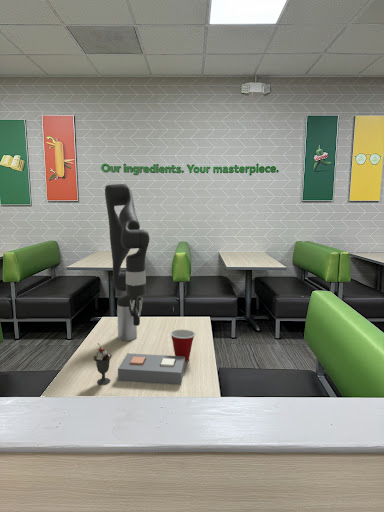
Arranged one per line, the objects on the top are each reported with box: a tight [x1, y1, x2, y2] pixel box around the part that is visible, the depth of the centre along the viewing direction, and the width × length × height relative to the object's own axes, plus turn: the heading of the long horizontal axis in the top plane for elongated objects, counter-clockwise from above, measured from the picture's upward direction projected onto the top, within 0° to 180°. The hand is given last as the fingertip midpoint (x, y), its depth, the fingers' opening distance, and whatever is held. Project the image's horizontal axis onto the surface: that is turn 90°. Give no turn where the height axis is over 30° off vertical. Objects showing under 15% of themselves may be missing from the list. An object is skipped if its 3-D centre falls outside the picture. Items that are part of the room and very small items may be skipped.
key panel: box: [117, 352, 186, 386], centre depth 133 cm, size 13×24×5 cm, turn 85°
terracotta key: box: [130, 357, 145, 365], centre depth 133 cm, size 5×5×4 cm
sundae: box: [93, 343, 113, 386], centre depth 126 cm, size 7×7×15 cm
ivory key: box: [161, 358, 175, 367], centre depth 132 cm, size 5×5×4 cm
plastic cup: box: [170, 329, 196, 362], centre depth 145 cm, size 11×11×12 cm
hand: (136, 324), depth 131 cm, fingers closed
